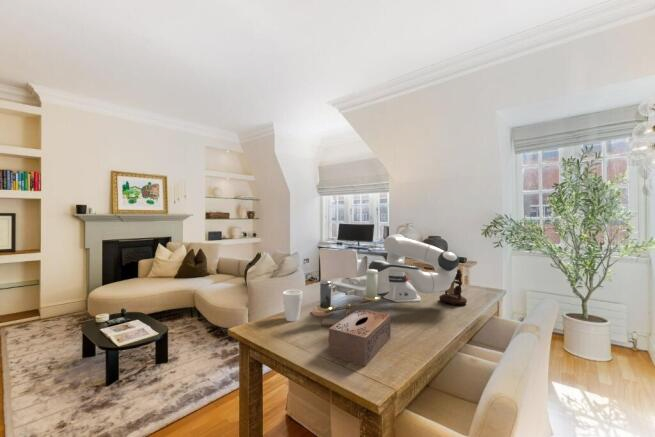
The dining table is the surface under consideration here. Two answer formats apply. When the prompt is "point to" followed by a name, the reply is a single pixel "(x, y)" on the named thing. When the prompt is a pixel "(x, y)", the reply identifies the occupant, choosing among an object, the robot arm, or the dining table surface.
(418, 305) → the dining table surface
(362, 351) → the tissue box cover
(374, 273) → the light tin
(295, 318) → the foam cup
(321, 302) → the tin
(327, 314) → the dish
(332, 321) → the balance
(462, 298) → the brown wooden figurine
